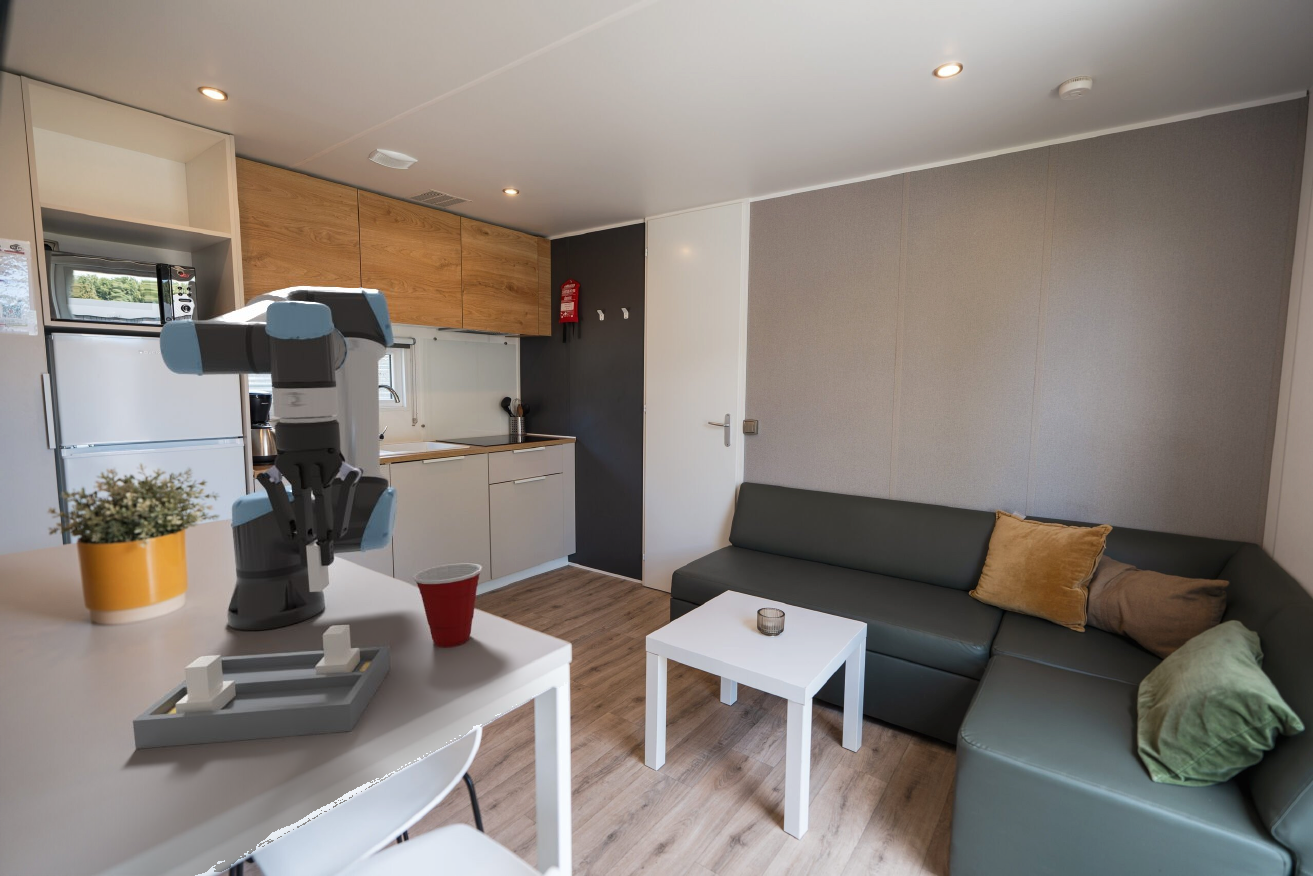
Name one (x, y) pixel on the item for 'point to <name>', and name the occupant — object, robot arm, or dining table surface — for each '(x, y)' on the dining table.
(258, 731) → the grey divided tray
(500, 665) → the dining table surface
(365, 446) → the robot arm
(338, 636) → the tab
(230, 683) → the tab
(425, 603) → the plastic cup
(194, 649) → the dining table surface
